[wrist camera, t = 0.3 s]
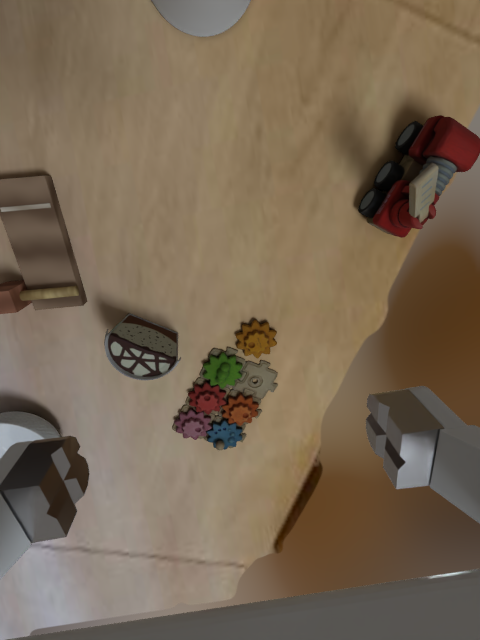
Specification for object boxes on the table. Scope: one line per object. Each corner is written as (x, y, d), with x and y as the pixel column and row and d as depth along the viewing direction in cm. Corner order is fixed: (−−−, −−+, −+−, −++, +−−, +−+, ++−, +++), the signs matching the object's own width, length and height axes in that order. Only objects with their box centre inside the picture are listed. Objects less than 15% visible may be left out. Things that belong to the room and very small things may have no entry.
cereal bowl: (1, 385, 61) (-25, 409, 55) (85, 419, 66) (71, 445, 59) (-25, 444, 66) (-51, 473, 60) (55, 472, 71) (39, 501, 64)
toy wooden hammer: (5, 281, 53) (-19, 293, 48) (81, 274, 54) (66, 285, 48) (13, 301, 55) (-10, 314, 49) (87, 294, 55) (73, 306, 50)
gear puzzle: (231, 304, 58) (232, 312, 55) (306, 336, 62) (312, 346, 58) (169, 427, 69) (166, 441, 65) (236, 448, 73) (237, 463, 69)
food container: (110, 337, 59) (90, 366, 50) (121, 309, 57) (102, 334, 48) (173, 361, 62) (165, 393, 53) (185, 335, 60) (180, 364, 51)
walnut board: (-4, 180, 47) (-13, 180, 45) (51, 175, 48) (44, 175, 46) (40, 305, 55) (34, 310, 54) (87, 301, 56) (82, 305, 54)
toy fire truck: (451, 146, 50) (563, 130, 34) (390, 237, 55) (463, 261, 39) (394, 106, 47) (487, 68, 31) (336, 206, 52) (390, 218, 36)
